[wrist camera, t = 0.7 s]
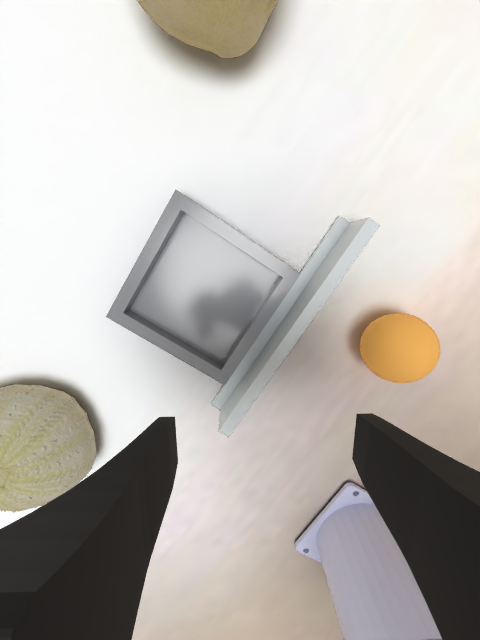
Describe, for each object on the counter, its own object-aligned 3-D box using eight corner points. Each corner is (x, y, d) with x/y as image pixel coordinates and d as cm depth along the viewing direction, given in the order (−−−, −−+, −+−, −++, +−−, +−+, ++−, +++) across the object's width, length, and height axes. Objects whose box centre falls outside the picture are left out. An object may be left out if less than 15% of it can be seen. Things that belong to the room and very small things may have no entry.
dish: (294, 272, 19) (300, 273, 17) (225, 374, 20) (224, 385, 19) (181, 195, 17) (175, 189, 16) (117, 311, 19) (105, 316, 17)
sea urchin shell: (-47, 364, 18) (-43, 448, 13) (83, 360, 24) (120, 416, 19) (-64, 475, 20) (-66, 585, 15) (61, 445, 26) (89, 516, 21)
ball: (422, 328, 20) (476, 348, 15) (383, 376, 21) (423, 409, 16) (375, 295, 19) (416, 307, 15) (336, 346, 20) (365, 371, 16)
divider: (366, 237, 18) (391, 233, 15) (238, 417, 21) (238, 442, 18) (337, 216, 18) (358, 208, 15) (211, 402, 21) (208, 425, 18)
